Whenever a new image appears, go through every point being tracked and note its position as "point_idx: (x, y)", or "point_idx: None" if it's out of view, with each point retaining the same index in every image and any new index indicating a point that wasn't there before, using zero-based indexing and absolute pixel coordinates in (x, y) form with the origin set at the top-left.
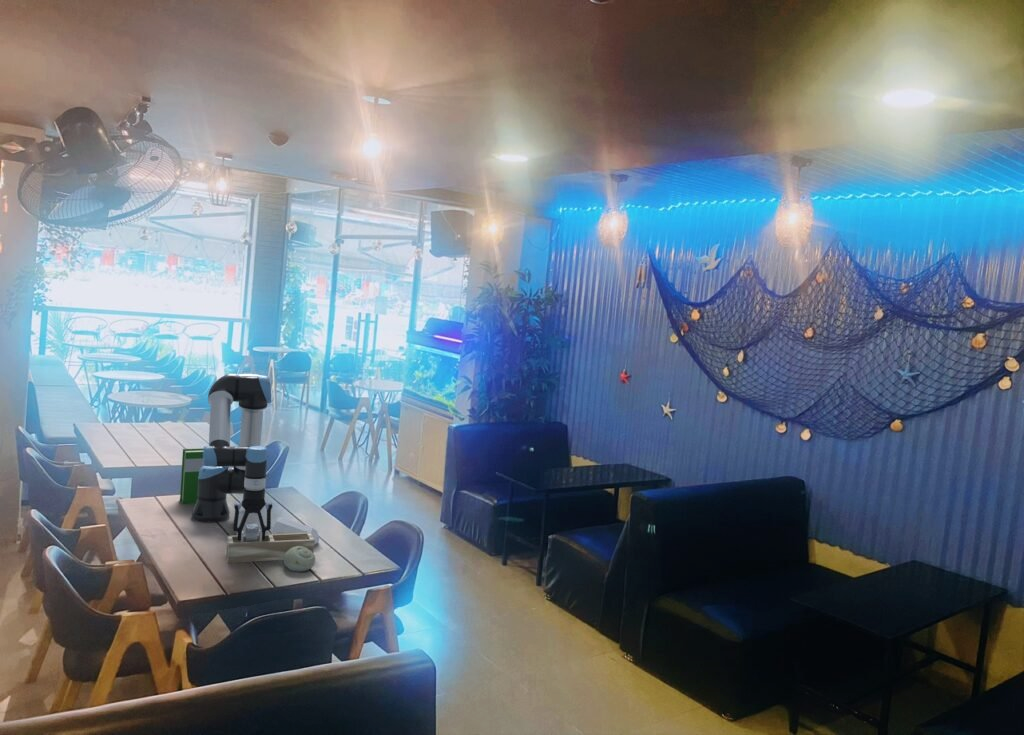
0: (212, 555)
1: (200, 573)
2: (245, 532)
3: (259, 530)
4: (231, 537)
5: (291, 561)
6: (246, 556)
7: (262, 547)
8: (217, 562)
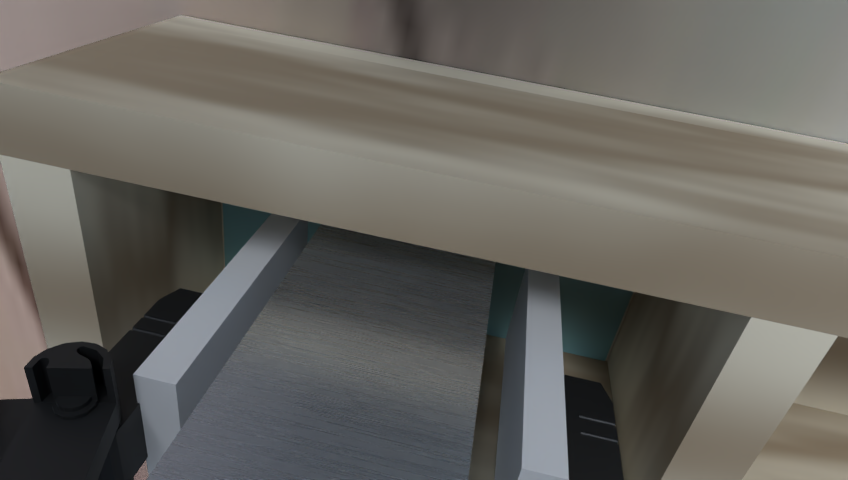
0: (27, 15)
1: (17, 393)
2: (250, 332)
3: (520, 467)
4: (62, 197)
5: None
6: None
7: None
8: None
